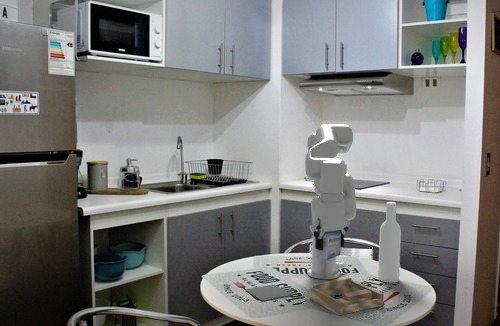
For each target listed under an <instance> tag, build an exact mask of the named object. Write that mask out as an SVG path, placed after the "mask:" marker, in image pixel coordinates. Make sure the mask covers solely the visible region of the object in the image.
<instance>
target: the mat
mask: <svg viewBox="0 0 500 326" xmlns="http://www.w3.org/2000/svg"><path fill="white" fill-rule="evenodd" d="M245 291H246V292H247V293H249V294H250V295H252V296H253V297H255V298H257V299H258V301H259V300H260V301H261V302H267V301H272V300H278V299H283V298H288V297H293V294H291V293H290V292H288V291H286V290H285V289H283V288H281V287H279V285H276V284H275V283H274V284H269V285H263V286H257V287H250V288H245Z"/></svg>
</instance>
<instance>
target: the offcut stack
mask: <svg viewBox="0 0 500 326" xmlns="http://www.w3.org/2000/svg"><path fill="white" fill-rule="evenodd" d="M336 299H337V300H339V301H341V302H343V306H346V305H350V304H355V303H360V302H364V301H369V300H373V299H372V292H371V291H369V290H367V289H364V290H359V291H354V292H349V293H344V294H341V298H336Z"/></svg>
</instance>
